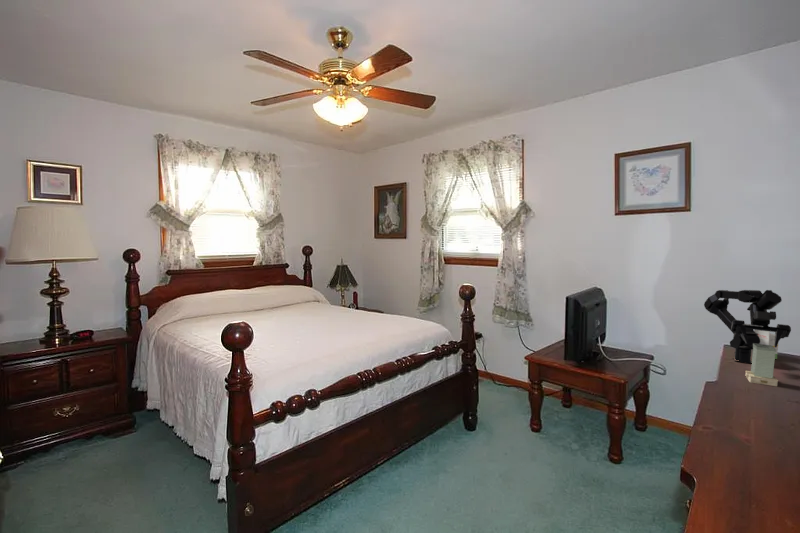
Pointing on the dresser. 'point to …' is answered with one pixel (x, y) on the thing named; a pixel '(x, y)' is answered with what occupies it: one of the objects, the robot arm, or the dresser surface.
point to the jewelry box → (761, 379)
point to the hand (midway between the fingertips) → (761, 345)
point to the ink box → (767, 339)
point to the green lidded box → (763, 360)
